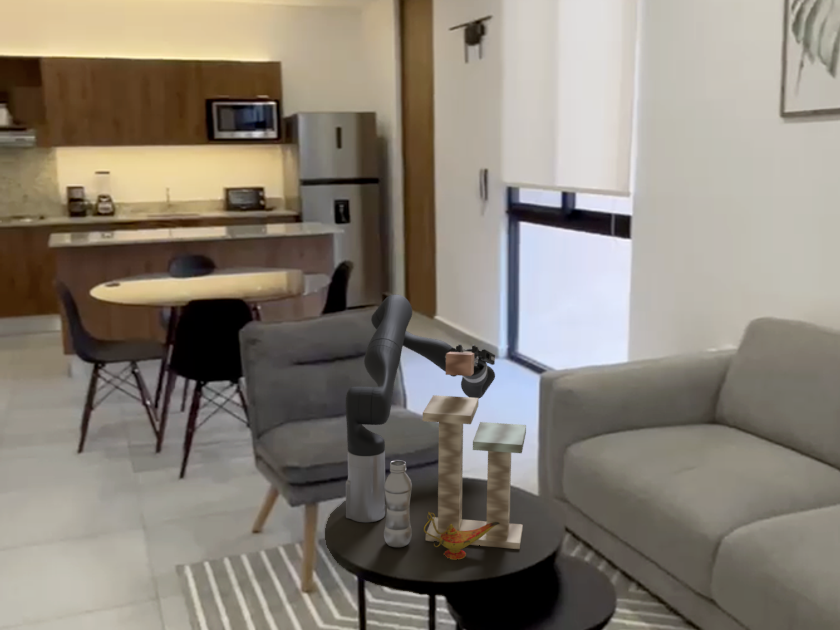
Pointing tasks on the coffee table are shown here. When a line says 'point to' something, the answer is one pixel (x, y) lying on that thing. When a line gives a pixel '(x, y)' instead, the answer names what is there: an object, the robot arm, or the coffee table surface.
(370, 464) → the robot arm
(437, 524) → the stepped stand
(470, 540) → the magic lamp
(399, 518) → the plastic bottle
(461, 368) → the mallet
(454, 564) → the coffee table surface
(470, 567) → the coffee table surface
